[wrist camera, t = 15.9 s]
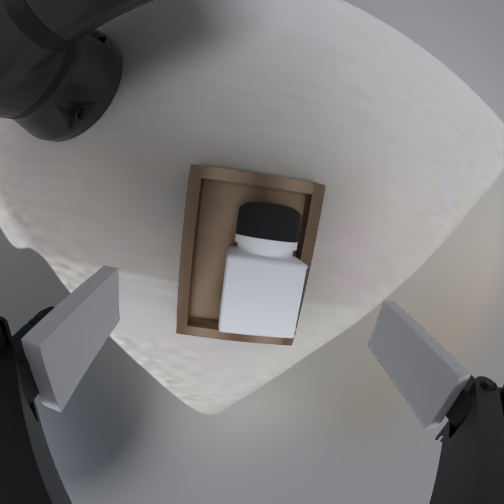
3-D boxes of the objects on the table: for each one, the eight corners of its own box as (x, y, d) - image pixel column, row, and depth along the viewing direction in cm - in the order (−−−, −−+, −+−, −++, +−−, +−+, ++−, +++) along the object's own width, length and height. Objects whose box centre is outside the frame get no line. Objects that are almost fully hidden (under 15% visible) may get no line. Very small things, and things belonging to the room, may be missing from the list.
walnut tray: (180, 320, 33) (176, 333, 31) (195, 165, 29) (190, 164, 26) (287, 332, 35) (291, 345, 32) (317, 184, 30) (325, 184, 27)
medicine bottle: (295, 339, 25) (317, 209, 24) (217, 332, 25) (234, 196, 23) (281, 314, 32) (298, 209, 31) (220, 307, 32) (233, 200, 30)
